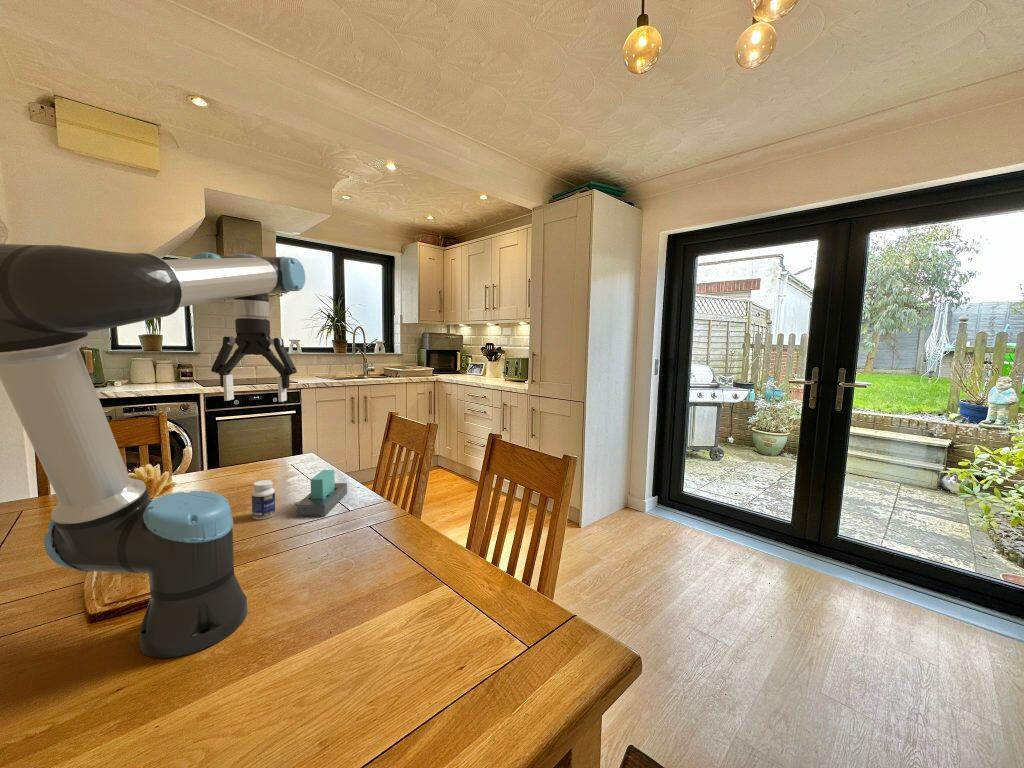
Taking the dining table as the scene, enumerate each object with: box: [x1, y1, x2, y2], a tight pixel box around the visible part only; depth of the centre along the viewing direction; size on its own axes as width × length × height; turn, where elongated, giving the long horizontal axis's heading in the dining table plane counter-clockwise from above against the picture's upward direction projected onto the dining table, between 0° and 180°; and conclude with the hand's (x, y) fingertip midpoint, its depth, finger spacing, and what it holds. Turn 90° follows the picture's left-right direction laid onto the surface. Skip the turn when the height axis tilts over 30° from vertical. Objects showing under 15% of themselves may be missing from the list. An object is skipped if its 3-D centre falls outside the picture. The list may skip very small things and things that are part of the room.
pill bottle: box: [251, 479, 276, 520], centre depth 116 cm, size 6×6×10 cm
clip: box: [310, 469, 336, 499], centre depth 126 cm, size 9×4×9 cm, turn 2°
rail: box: [295, 482, 348, 518], centre depth 126 cm, size 18×8×4 cm, turn 2°
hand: (256, 400), depth 106 cm, fingers open, 13 cm apart
